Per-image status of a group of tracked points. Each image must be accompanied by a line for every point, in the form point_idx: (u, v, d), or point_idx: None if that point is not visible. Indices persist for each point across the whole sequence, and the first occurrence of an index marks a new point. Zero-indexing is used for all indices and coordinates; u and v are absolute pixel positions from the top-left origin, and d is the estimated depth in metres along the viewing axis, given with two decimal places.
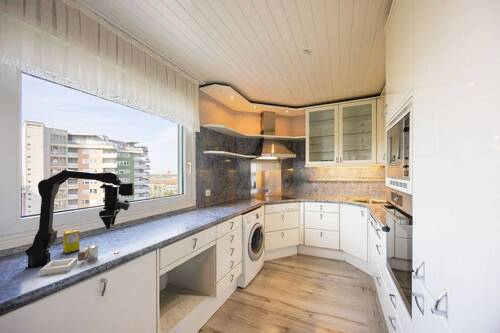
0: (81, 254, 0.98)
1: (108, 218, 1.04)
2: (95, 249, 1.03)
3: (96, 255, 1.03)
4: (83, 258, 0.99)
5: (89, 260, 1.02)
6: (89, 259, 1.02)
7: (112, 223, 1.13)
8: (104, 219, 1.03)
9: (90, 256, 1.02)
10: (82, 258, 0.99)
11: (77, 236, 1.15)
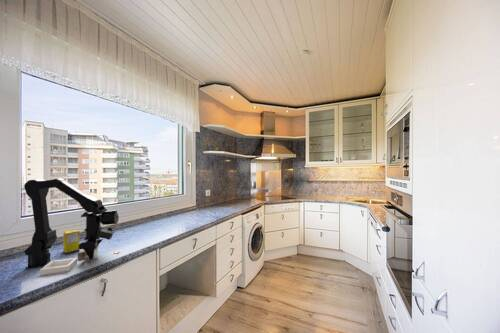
0: (81, 254, 0.98)
1: (91, 248, 1.01)
2: (95, 249, 1.03)
3: (96, 255, 1.03)
4: (83, 258, 0.99)
5: (89, 260, 1.02)
6: (89, 259, 1.02)
7: None
8: (86, 249, 1.00)
9: None
10: (82, 258, 0.99)
11: (77, 236, 1.15)
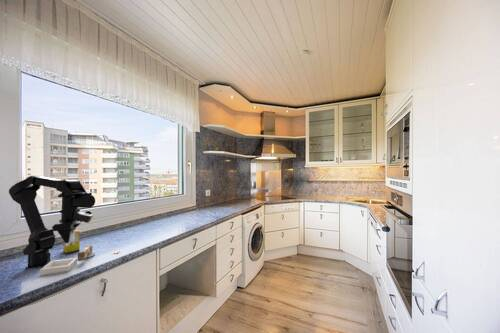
0: (81, 254, 0.98)
1: (66, 231, 0.94)
2: (71, 232, 0.96)
3: (73, 239, 0.97)
4: (83, 258, 0.99)
5: (65, 244, 0.95)
6: (65, 243, 0.95)
7: None
8: (61, 232, 0.93)
9: None
10: (82, 258, 0.99)
11: (77, 236, 1.15)
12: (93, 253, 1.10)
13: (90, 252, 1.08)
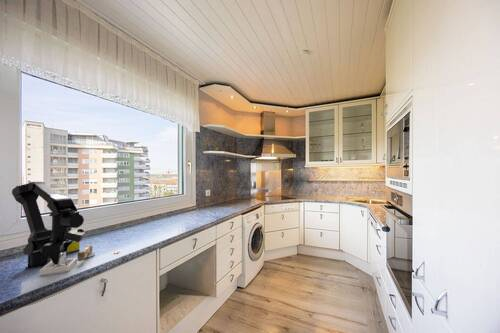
0: (81, 254, 0.98)
1: (55, 252, 0.90)
2: (62, 256, 0.93)
3: (63, 262, 0.94)
4: (83, 258, 0.99)
5: None
6: None
7: None
8: (50, 254, 0.89)
9: None
10: (82, 258, 0.99)
11: None
12: (93, 253, 1.10)
13: (90, 252, 1.08)
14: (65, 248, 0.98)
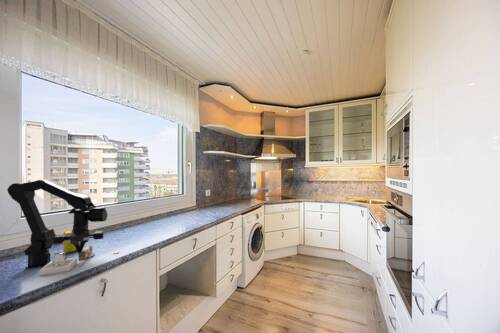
0: (82, 254, 0.98)
1: None
2: (62, 256, 0.93)
3: (63, 262, 0.94)
4: (84, 258, 0.99)
5: None
6: None
7: None
8: None
9: (56, 264, 0.92)
10: (83, 258, 0.99)
11: None
12: (93, 253, 1.10)
13: (90, 252, 1.08)
14: (80, 245, 1.02)
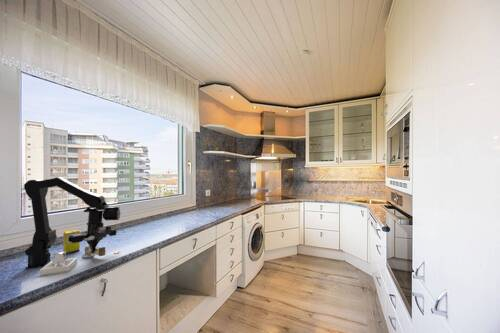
0: (104, 249, 1.05)
1: (91, 242, 1.04)
2: (62, 256, 0.93)
3: (63, 262, 0.94)
4: None
5: None
6: None
7: (91, 251, 1.04)
8: (88, 242, 1.04)
9: (56, 264, 0.92)
10: None
11: None
12: None
13: None
14: None
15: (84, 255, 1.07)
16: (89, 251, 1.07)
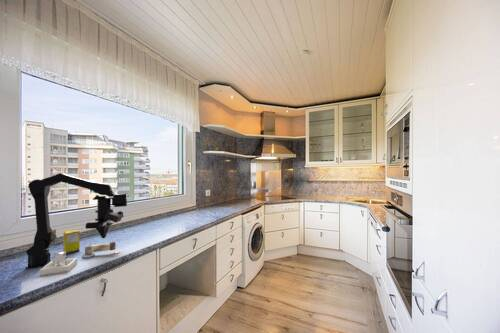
0: None
1: (102, 228, 1.09)
2: (62, 256, 0.93)
3: (63, 262, 0.94)
4: None
5: None
6: None
7: None
8: (98, 228, 1.08)
9: (56, 264, 0.92)
10: None
11: (77, 236, 1.15)
12: (93, 253, 1.10)
13: None
14: None
15: (84, 255, 1.07)
16: (93, 250, 1.09)
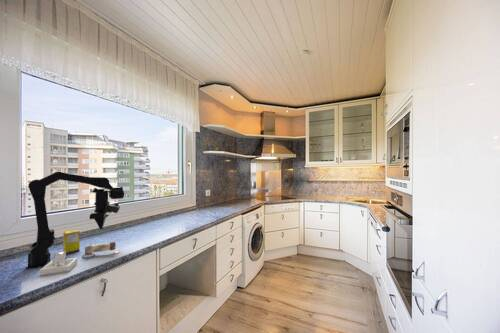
0: None
1: (101, 219, 1.15)
2: (62, 256, 0.93)
3: (63, 262, 0.94)
4: None
5: None
6: None
7: None
8: (97, 220, 1.14)
9: (56, 264, 0.92)
10: None
11: (77, 236, 1.15)
12: (93, 253, 1.10)
13: None
14: None
15: (84, 255, 1.07)
16: (93, 250, 1.09)
